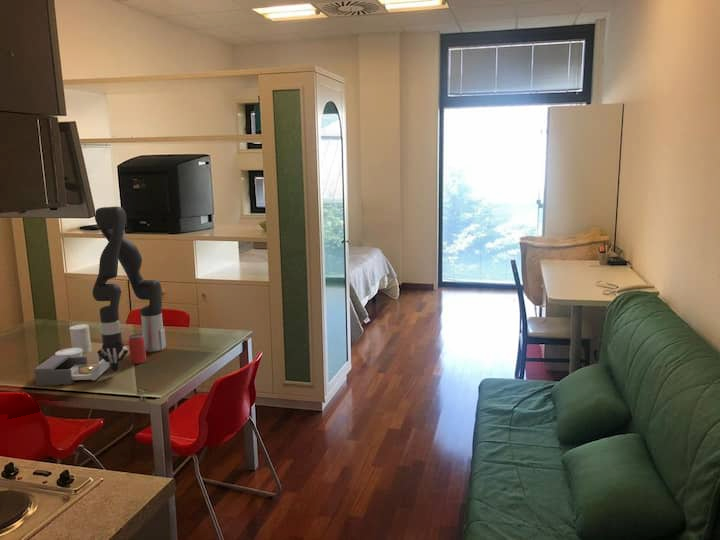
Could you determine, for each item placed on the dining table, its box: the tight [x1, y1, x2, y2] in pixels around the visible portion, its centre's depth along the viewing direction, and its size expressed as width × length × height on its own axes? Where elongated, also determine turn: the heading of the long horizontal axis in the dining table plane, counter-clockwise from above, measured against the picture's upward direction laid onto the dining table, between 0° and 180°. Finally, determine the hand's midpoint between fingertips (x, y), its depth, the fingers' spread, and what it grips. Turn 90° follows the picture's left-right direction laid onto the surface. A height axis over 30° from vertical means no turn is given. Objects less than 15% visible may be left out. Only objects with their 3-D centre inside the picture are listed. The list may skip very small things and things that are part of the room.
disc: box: [78, 365, 94, 374], centre depth 246 cm, size 6×6×2 cm
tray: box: [70, 359, 111, 381], centre depth 246 cm, size 14×16×5 cm
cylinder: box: [97, 352, 111, 365], centre depth 260 cm, size 4×4×5 cm
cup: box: [69, 323, 92, 355], centre depth 277 cm, size 8×8×12 cm
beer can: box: [128, 333, 147, 365], centre depth 262 cm, size 7×7×12 cm
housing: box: [33, 354, 88, 386], centre depth 246 cm, size 14×16×7 cm
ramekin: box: [54, 347, 83, 357], centre depth 264 cm, size 11×11×5 cm
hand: (115, 370), depth 247 cm, fingers closed
